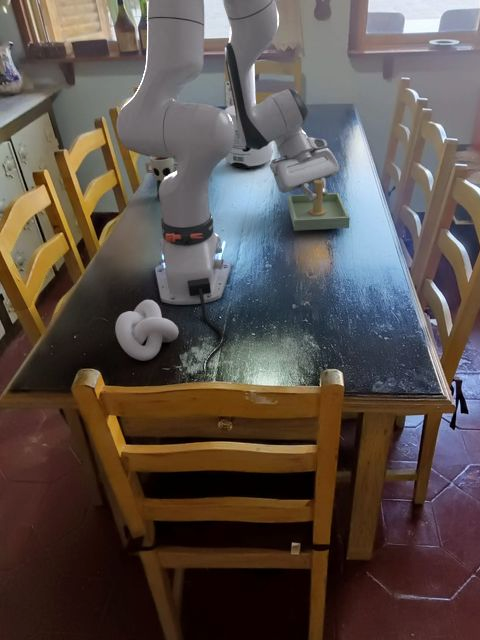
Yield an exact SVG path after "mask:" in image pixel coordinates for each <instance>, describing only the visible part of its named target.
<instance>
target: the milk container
mask: <svg viewBox="0 0 480 640" xmlns="http://www.w3.org/2000/svg"><path fill="white" fill-rule="evenodd" d="M257 104H258V103H256V104H252V106H255V105H257ZM224 110H226V111H227V112H228V114H229V115H230V117H231V118H232V121H233V123H234V127H235V141H234V145H233V147H232V149H231V151H230V153H229V154H228V155H227V156H226V157H225V158H224V159H225V161H226V162H227V163H228V164H229V165H231V166H233V167H235V168H241V169H253V168H258V167H262V166H264V165H267V164H268V163H269V162H271V161H272V158H273V154H274V146H273V141H272V142H270V143H269V144H267V145H266V146H264V147H263V148H261V149H260V150H256V149H252V148H249V147H246V146H245V145H244V143H243V142H242V140H241V138H240V136H239V133H238V129H237V120H236V113H235V107H234V106H230V107H228V108H227V107H225V109H224Z"/></svg>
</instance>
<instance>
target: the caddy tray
mask: <svg viewBox="0 0 480 640" xmlns="http://www.w3.org/2000/svg"><path fill="white" fill-rule="evenodd" d="M312 190H313V191H312V192H314V191H315V193H316V195H317V198H316V199H315V200H312V201H310V199H309V197H308V196H307V195H306V194H304V193H303V194H288V195H287V208H288V211H289V216H290V219H291V224H292V228H293V231H313V230H314V231H315V230H331V229H332V230H333V229H335V230H336V229H349V228H350V219H351V218H350V214H349V213H348V211H347V208H346V206H345V204H344V201H343V199H342V197H341V195H340V193H339V192H328V194H327V195H326V196H323V181H322V180H315V181H314V183H313V189H312Z"/></svg>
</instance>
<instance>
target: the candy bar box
mask: <svg viewBox="0 0 480 640" xmlns="http://www.w3.org/2000/svg"><path fill="white" fill-rule="evenodd" d="M224 86H225V100H226V101H225V103H226V108H228V107H230V106H234V102H233V97H232V92H231V87H230V82H229V81H225V82H224Z"/></svg>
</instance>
